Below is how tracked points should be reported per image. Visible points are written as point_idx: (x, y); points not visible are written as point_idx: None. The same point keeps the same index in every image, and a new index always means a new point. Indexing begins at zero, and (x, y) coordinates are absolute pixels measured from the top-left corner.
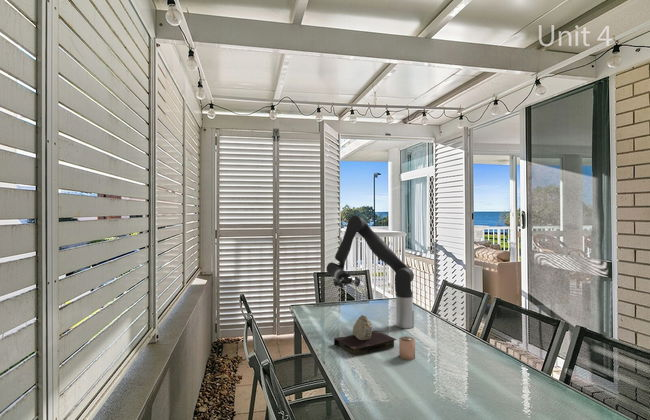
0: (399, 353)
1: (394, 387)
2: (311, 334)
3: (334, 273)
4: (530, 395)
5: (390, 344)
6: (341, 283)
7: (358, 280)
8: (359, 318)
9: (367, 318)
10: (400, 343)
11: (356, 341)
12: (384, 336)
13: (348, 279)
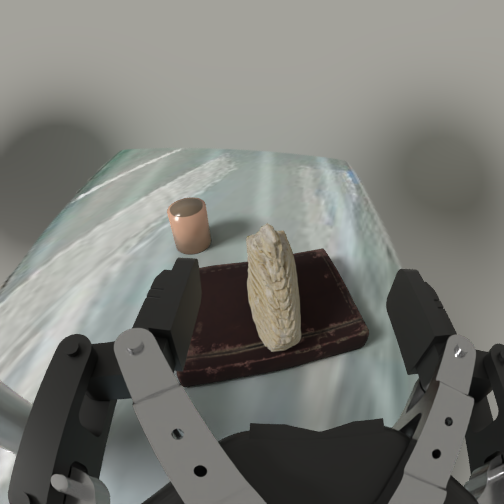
0: (208, 238)
1: (281, 178)
2: None
3: None
4: (146, 162)
5: None
6: (423, 288)
7: (95, 352)
8: (281, 261)
9: (257, 232)
10: (206, 213)
11: (300, 287)
12: None
13: (269, 461)
